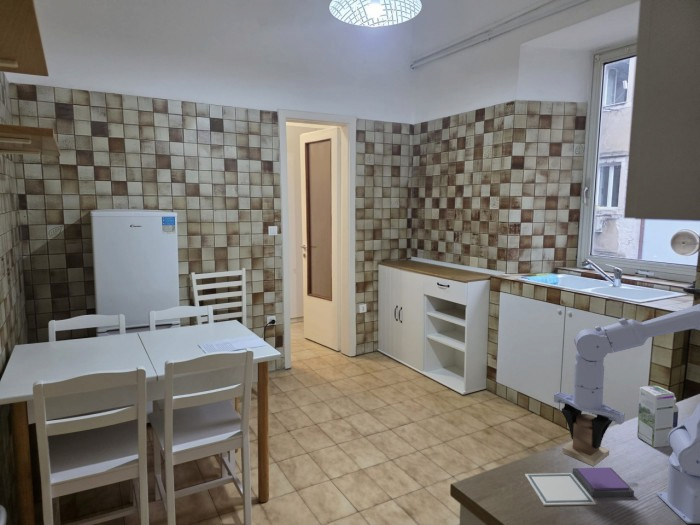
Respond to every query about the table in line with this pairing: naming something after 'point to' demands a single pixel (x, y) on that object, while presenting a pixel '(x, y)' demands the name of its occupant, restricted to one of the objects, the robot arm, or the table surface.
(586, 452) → the stamp
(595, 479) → the ink pad
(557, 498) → the form card
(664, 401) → the syrup box
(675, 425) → the pill bottle
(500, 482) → the table surface
